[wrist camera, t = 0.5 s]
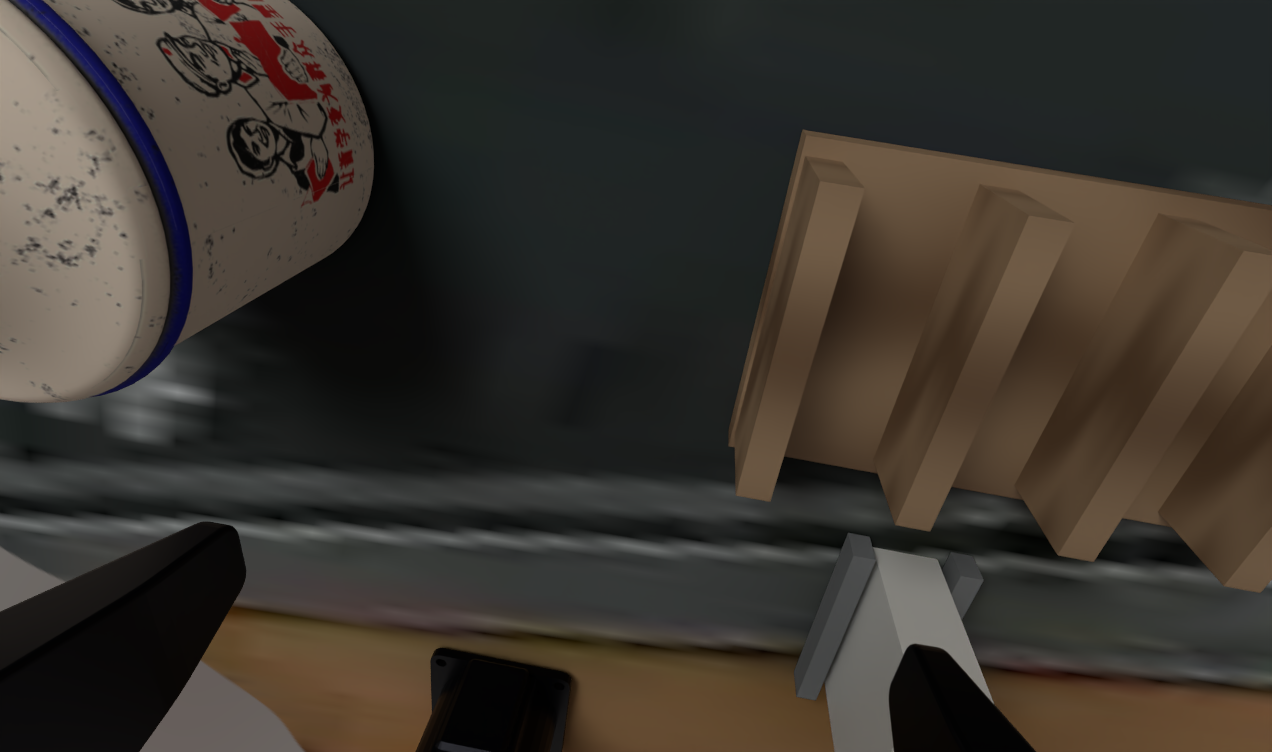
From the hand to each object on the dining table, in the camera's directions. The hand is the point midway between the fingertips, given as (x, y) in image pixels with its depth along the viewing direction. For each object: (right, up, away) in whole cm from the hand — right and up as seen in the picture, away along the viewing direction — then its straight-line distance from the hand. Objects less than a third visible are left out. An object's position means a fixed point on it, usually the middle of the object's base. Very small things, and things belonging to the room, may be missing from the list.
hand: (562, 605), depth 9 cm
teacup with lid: (-12, +12, +11) cm, 20 cm away
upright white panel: (+11, -7, +18) cm, 22 cm away
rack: (+12, +4, +11) cm, 17 cm away
